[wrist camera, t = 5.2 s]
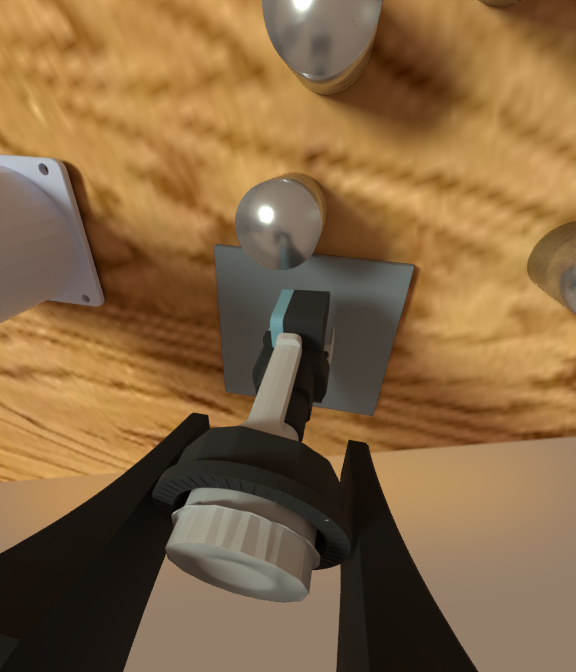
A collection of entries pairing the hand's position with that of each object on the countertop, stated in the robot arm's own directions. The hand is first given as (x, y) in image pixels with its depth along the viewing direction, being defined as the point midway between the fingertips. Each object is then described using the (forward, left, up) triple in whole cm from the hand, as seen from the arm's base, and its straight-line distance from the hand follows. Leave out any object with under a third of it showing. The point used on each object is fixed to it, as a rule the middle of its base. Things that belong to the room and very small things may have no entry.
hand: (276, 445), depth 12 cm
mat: (0, 0, -8) cm, 8 cm away
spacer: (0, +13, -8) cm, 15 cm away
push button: (0, +1, -6) cm, 6 cm away
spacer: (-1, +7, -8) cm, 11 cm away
